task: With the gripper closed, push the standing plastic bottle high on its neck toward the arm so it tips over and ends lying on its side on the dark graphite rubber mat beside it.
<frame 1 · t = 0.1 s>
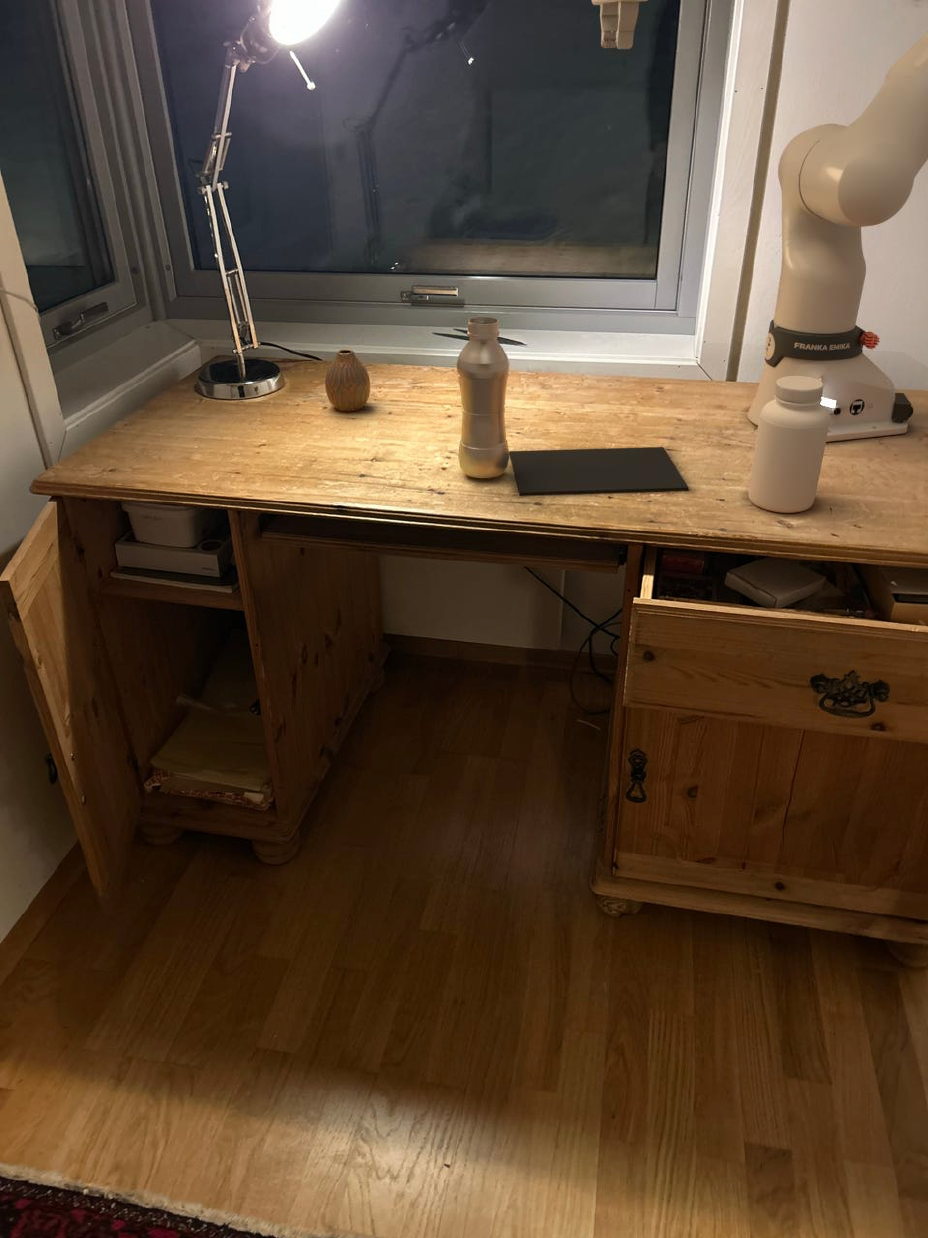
hand: (616, 48, 116), 48 cm above the table, tool pointing down, fingers open, 8 cm apart
plastic bottle: (483, 475, 126), on the table
vase: (349, 408, 149), on the table
mat: (594, 471, 127), on the table
pill bottle: (779, 502, 118), on the table
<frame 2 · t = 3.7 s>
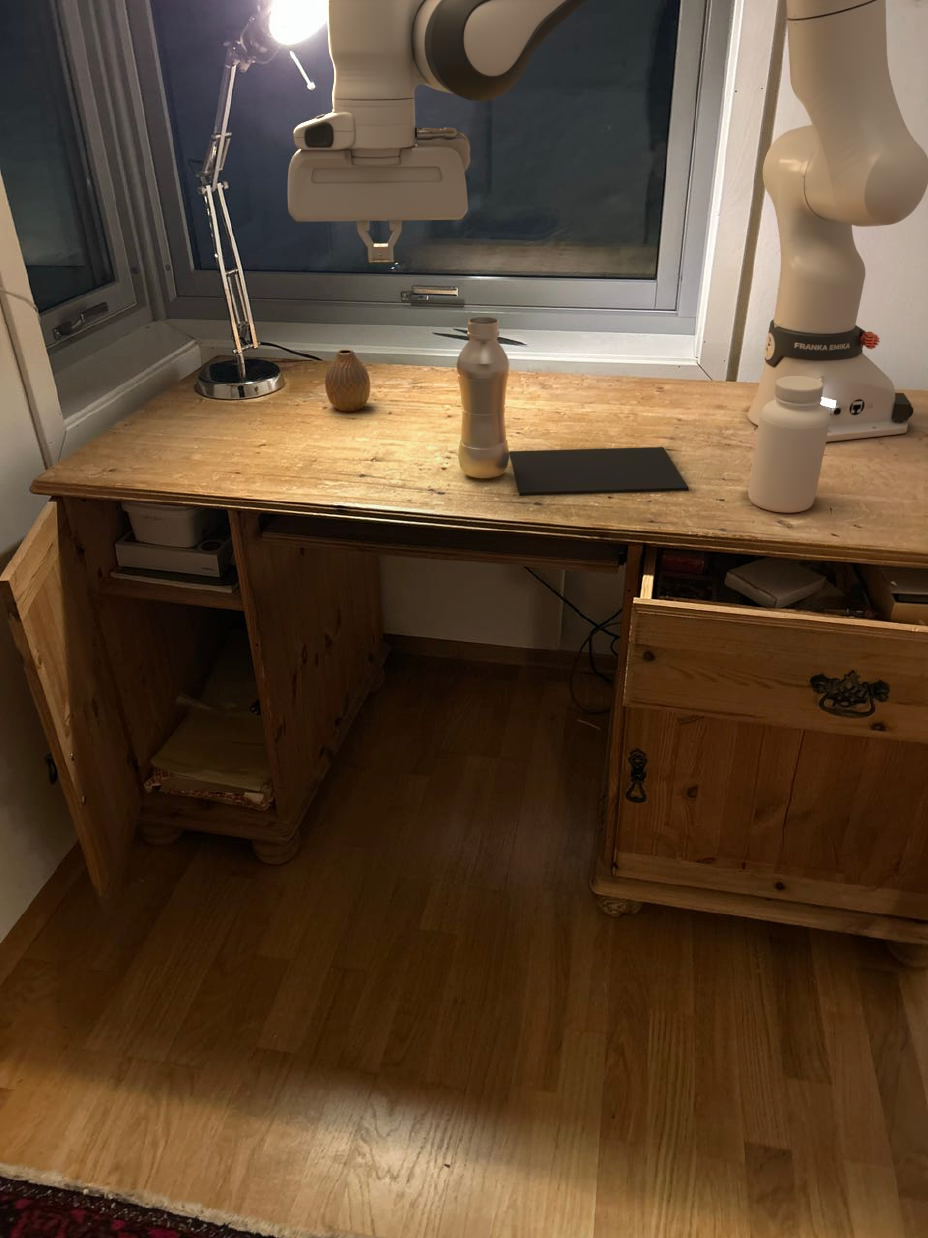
hand: (381, 261, 112), 27 cm above the table, tool pointing down, fingers closed
nothing on the table moved.
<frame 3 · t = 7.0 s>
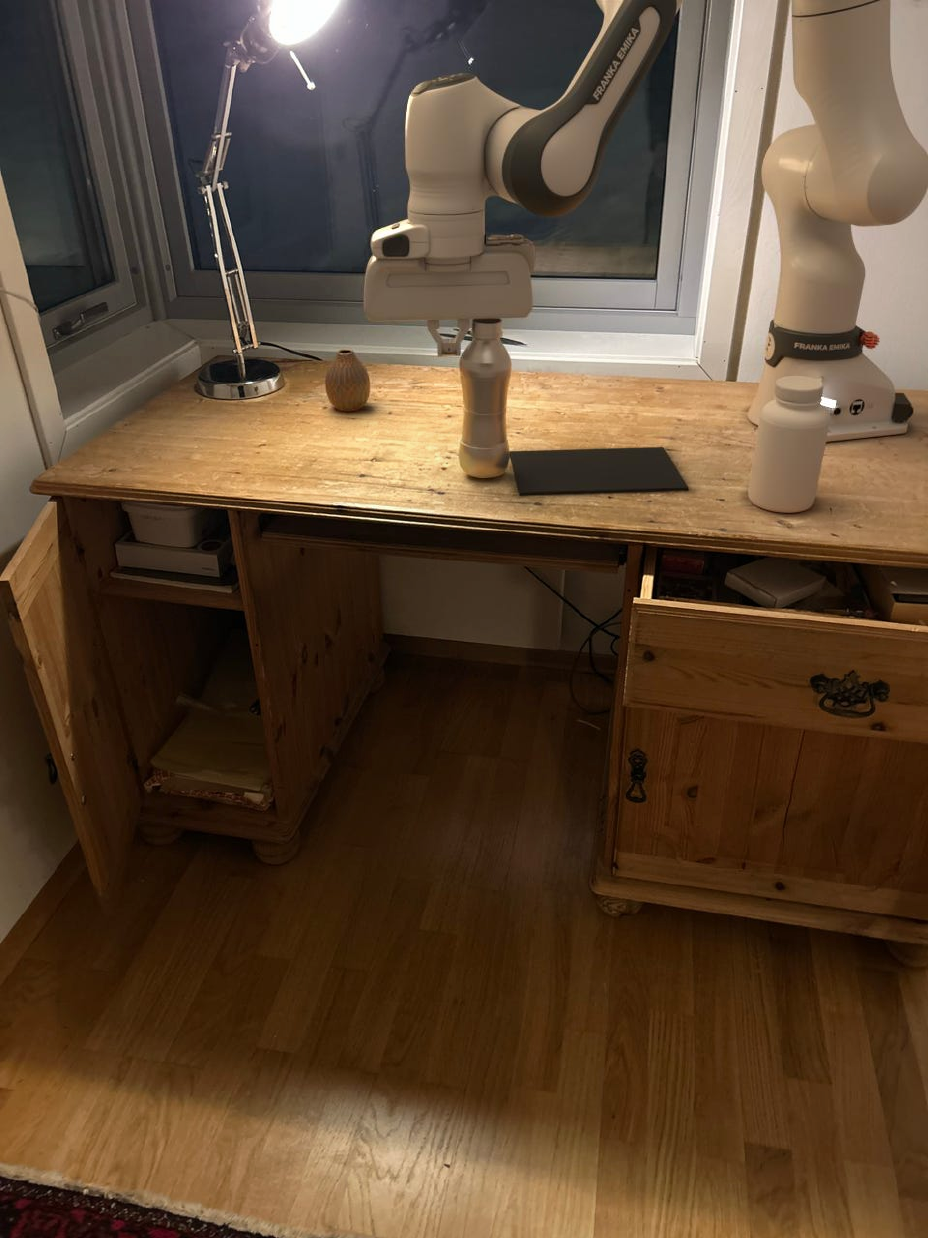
hand: (449, 355, 118), 16 cm above the table, tool pointing down, fingers closed
plastic bottle: (483, 475, 126), on the table, touching gripper
everything else where it was.
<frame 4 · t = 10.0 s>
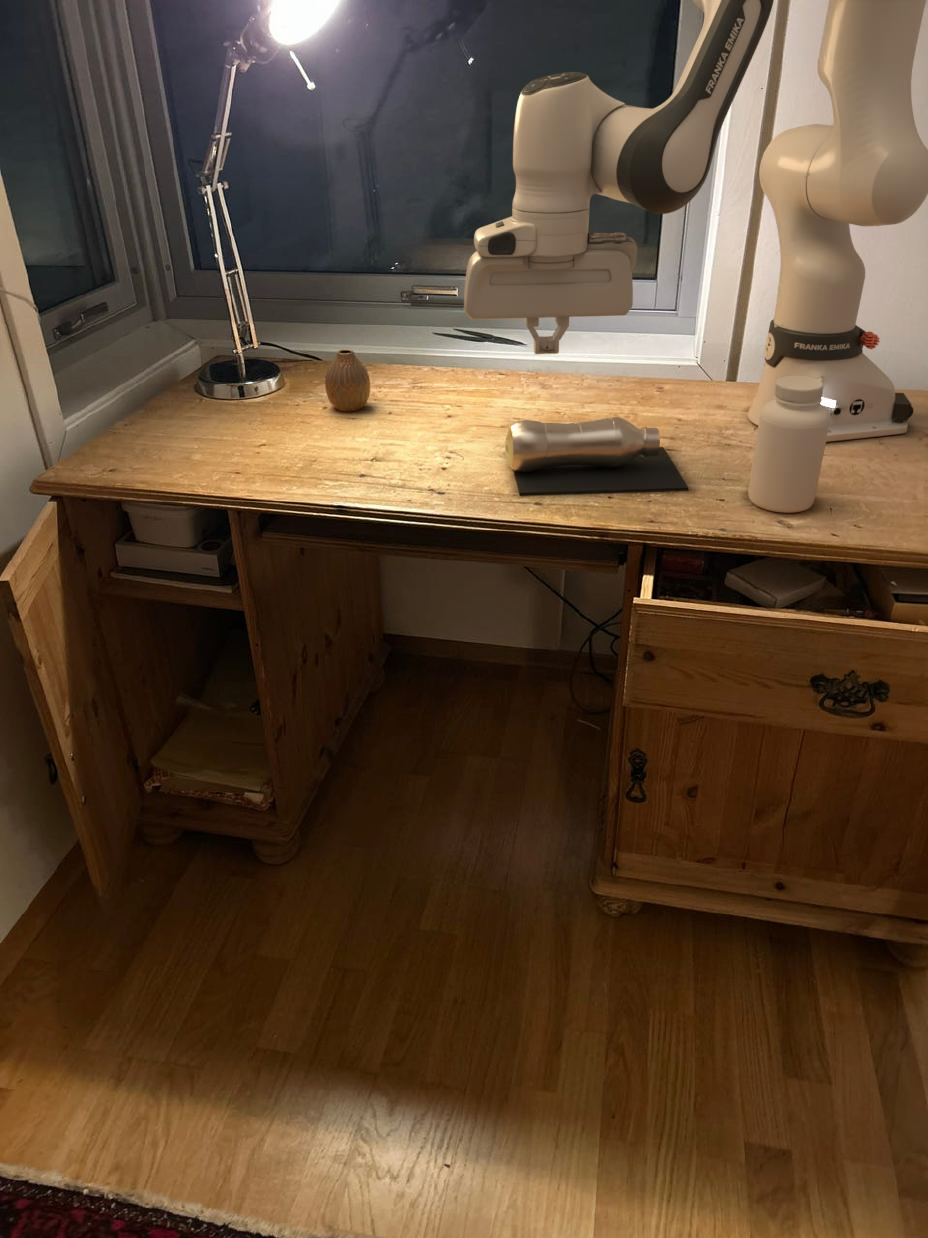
hand: (546, 352, 118), 16 cm above the table, tool pointing down, fingers closed
plastic bottle: (504, 446, 124), point 4 cm above the table, touching mat
everything else where it was.
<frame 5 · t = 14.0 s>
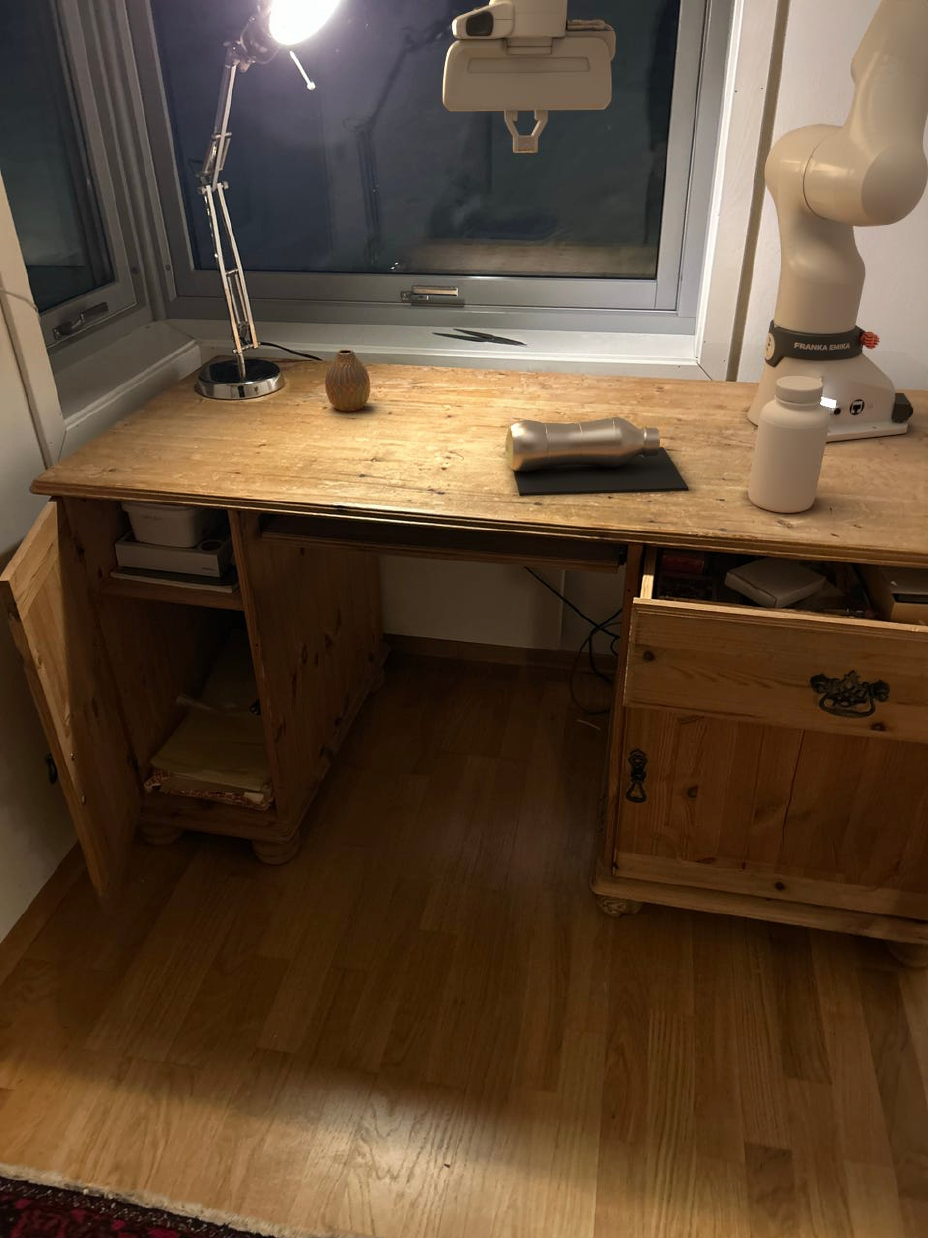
hand: (525, 152, 118), 37 cm above the table, tool pointing down, fingers closed
nothing on the table moved.
at the end: plastic bottle tilted 91°; plastic bottle touching mat; the gripper is holding nothing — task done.
